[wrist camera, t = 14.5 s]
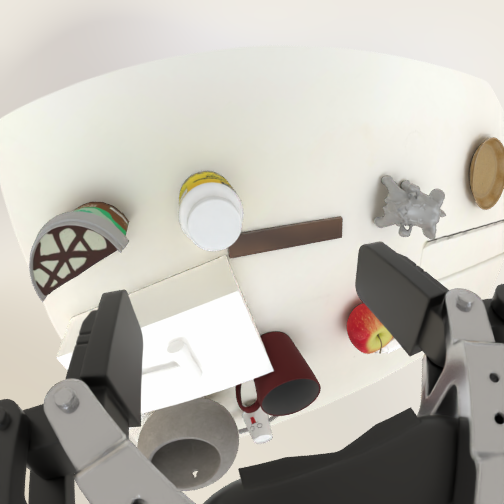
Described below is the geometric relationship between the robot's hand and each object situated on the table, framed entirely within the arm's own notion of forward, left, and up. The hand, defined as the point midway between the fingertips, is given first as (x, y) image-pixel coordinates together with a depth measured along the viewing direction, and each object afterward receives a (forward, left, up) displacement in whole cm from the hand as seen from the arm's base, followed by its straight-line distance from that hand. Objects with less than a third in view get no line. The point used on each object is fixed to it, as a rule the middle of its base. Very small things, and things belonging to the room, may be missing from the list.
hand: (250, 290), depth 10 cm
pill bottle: (+3, 0, -27) cm, 27 cm away
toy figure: (+46, +2, -27) cm, 53 cm away
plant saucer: (+4, +53, -27) cm, 60 cm away
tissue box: (+22, -9, -27) cm, 35 cm away
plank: (+11, +10, -26) cm, 30 cm away
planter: (+40, -11, -27) cm, 49 cm away
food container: (+4, -15, -27) cm, 31 cm away
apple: (+28, +23, -27) cm, 45 cm away
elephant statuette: (+8, +29, -27) cm, 40 cm away
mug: (+31, +5, -27) cm, 41 cm away
